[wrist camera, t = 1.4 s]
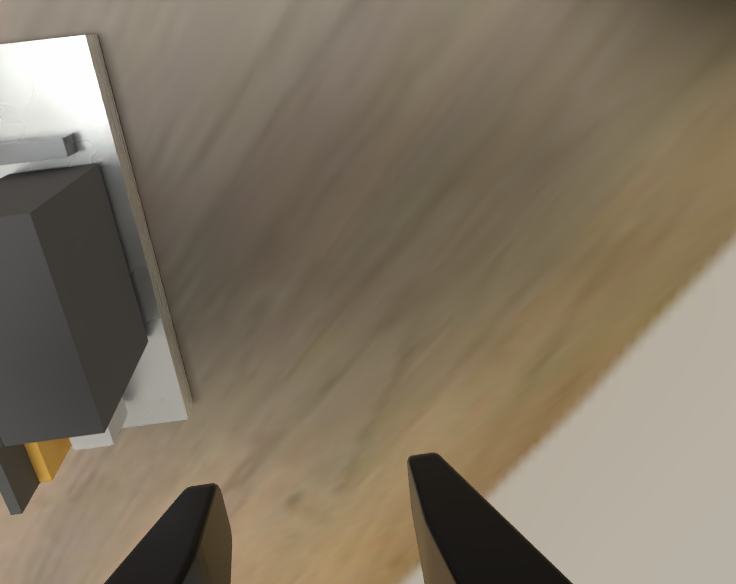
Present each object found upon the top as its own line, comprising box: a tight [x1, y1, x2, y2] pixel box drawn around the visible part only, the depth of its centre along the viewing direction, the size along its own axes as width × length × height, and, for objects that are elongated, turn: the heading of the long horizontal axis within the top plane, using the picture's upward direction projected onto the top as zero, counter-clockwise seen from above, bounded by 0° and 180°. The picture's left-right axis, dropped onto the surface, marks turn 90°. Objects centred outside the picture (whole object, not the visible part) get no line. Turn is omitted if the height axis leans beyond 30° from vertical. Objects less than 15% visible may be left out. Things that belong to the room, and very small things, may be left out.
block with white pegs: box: [0, 164, 148, 451], centre depth 16 cm, size 6×8×5 cm
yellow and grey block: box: [0, 436, 71, 515], centre depth 18 cm, size 1×2×4 cm, turn 6°
